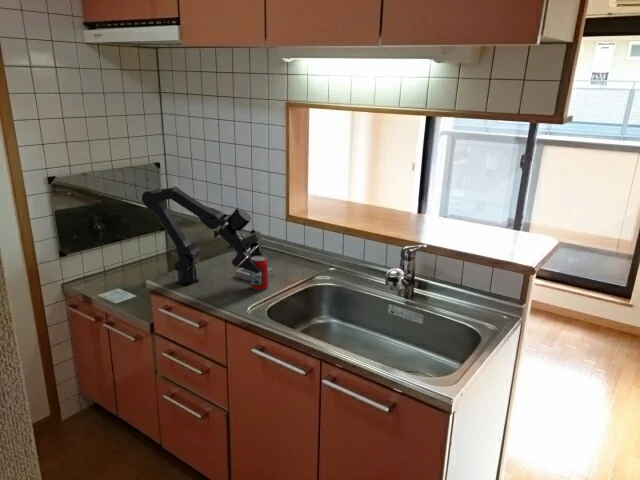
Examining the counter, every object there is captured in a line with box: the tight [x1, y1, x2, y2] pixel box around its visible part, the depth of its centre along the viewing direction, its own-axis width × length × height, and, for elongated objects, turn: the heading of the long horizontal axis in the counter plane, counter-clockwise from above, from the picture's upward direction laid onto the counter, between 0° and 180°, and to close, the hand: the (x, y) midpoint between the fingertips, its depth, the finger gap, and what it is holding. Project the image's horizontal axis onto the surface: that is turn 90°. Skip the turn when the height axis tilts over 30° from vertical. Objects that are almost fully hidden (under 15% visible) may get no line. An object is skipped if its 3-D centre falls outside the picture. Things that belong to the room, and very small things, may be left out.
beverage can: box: [249, 255, 269, 291], centre depth 189 cm, size 7×7×12 cm
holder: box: [234, 267, 274, 282], centre depth 202 cm, size 11×11×2 cm
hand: (262, 268), depth 188 cm, fingers open, 9 cm apart
